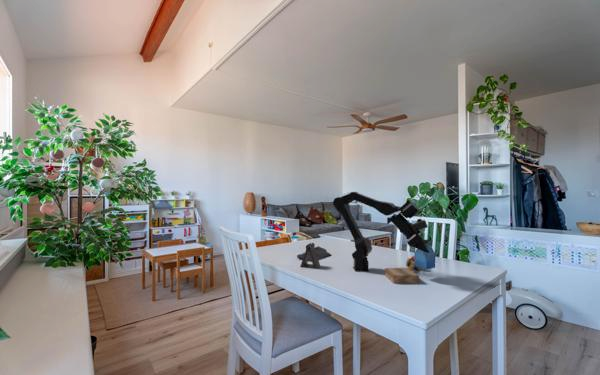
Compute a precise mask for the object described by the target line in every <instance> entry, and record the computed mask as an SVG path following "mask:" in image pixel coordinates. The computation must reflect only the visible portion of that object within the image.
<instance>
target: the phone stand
mask: <svg viewBox="0 0 600 375" xmlns="http://www.w3.org/2000/svg"><path fill="white" fill-rule="evenodd" d="M304 253H305V255H304V257H303V259H301V264H300V268H305V269H316V270H317V269H318V268H320V266H321V263H320V260H318V257H317V254H316V251H315V243H314V242H310V243H308V244H306V246H305V252H304ZM309 255H311V259H312V262H311V263H312V264H311V263H308V262H309V261H308V259H309Z"/></svg>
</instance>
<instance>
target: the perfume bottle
mask: <svg viewBox="0 0 600 375" xmlns="http://www.w3.org/2000/svg"><path fill="white" fill-rule="evenodd" d="M422 239H423V238H422ZM422 242H423V243H424V245H425V246H426V248H427V249H428V251H429V253H427V252H423V251H421V250H419V249H417V248H416V249H415V251H414V255H413V256H414V266H417V267H420V268H421V269H424V270H431V269H434V268H436V252H435V251H434V249H433V247H429V246H430V240H429V239H423V240H422Z"/></svg>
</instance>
